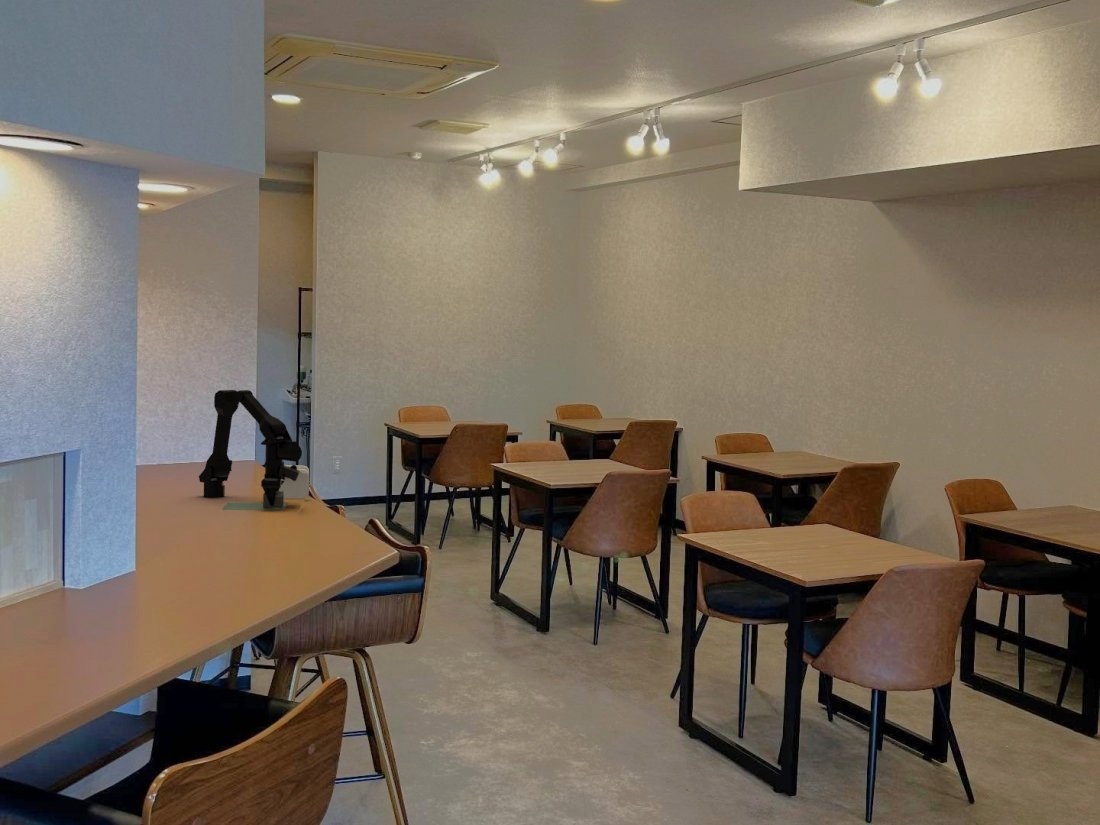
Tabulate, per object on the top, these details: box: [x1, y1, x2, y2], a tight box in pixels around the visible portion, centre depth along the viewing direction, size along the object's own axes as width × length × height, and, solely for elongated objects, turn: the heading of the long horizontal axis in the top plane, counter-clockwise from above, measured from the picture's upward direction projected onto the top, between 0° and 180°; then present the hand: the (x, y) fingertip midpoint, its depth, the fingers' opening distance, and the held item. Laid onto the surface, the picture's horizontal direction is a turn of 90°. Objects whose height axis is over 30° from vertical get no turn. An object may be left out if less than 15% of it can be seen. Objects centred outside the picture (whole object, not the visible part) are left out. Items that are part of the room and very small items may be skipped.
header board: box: [221, 501, 288, 511], centre depth 350 cm, size 20×14×4 cm
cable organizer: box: [279, 464, 310, 500], centre depth 372 cm, size 15×11×12 cm
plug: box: [262, 491, 285, 508], centre depth 351 cm, size 6×7×4 cm
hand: (273, 503), depth 351 cm, fingers closed on plug, 7 cm apart
